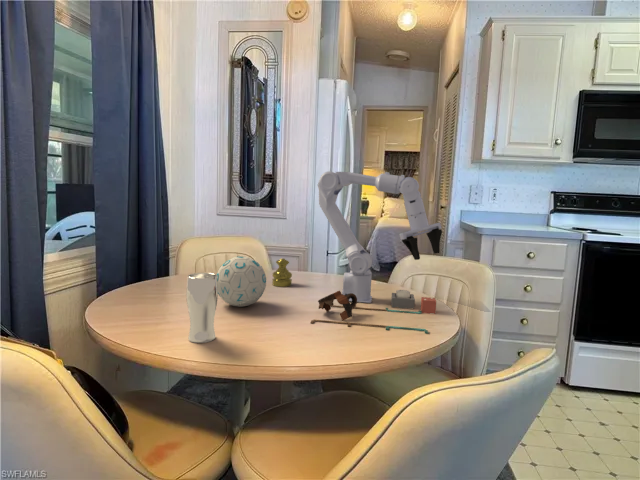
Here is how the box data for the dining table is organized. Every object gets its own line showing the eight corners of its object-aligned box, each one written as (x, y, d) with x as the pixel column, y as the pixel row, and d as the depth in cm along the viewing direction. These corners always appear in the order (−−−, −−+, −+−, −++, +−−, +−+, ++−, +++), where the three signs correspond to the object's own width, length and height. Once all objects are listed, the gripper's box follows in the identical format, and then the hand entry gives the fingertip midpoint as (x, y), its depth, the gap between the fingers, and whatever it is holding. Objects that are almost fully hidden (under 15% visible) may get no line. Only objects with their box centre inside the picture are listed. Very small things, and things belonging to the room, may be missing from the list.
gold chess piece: (280, 281, 159) (281, 256, 158) (295, 284, 155) (296, 258, 153) (267, 284, 153) (268, 258, 152) (282, 288, 149) (283, 261, 147)
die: (421, 313, 124) (422, 299, 123) (420, 309, 128) (421, 296, 127) (435, 314, 123) (436, 300, 123) (433, 310, 127) (434, 297, 127)
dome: (395, 301, 129) (396, 291, 129) (395, 298, 134) (396, 288, 133) (410, 302, 129) (410, 292, 128) (409, 299, 133) (409, 289, 133)
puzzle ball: (227, 297, 133) (228, 251, 131) (272, 301, 130) (273, 254, 128) (206, 310, 118) (206, 258, 116) (256, 314, 115) (257, 262, 114)
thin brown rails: (310, 323, 109) (310, 322, 109) (321, 303, 130) (322, 302, 130) (428, 333, 105) (428, 332, 105) (421, 311, 125) (421, 310, 125)
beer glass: (190, 333, 98) (190, 272, 97) (219, 333, 99) (220, 272, 97) (183, 343, 92) (183, 278, 90) (214, 344, 92) (215, 279, 91)
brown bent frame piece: (336, 325, 111) (323, 297, 112) (321, 330, 118) (309, 304, 120) (369, 308, 117) (356, 282, 118) (352, 314, 125) (341, 289, 126)
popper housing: (391, 307, 128) (392, 297, 128) (391, 301, 135) (391, 292, 135) (414, 309, 127) (414, 299, 127) (412, 303, 134) (413, 294, 134)
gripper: (404, 218, 122) (415, 262, 122) (442, 207, 127) (453, 249, 127) (392, 220, 129) (402, 262, 129) (429, 210, 134) (439, 250, 134)
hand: (427, 256), depth 129 cm, fingers open, 7 cm apart
